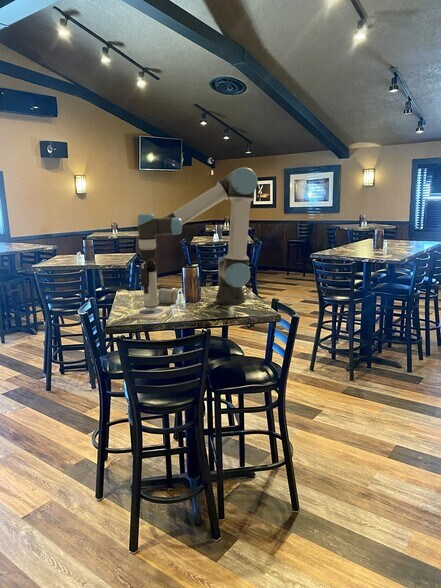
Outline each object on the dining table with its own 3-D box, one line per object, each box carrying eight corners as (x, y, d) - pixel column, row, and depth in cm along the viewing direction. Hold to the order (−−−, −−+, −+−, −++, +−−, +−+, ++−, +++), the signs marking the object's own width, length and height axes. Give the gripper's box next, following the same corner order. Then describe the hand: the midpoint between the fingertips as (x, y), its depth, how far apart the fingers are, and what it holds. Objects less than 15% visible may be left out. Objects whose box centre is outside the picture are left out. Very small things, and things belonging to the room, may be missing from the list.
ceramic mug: (173, 305, 217) (172, 290, 216) (157, 304, 219) (157, 289, 218) (180, 301, 227) (180, 286, 226) (166, 300, 230) (165, 286, 228)
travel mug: (154, 304, 207) (152, 262, 203) (160, 307, 201) (158, 264, 197) (142, 306, 204) (139, 264, 199) (147, 309, 198) (145, 265, 194)
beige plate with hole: (173, 308, 211) (173, 306, 210) (157, 319, 192) (156, 317, 192) (146, 307, 214) (146, 305, 214) (127, 317, 195) (127, 315, 195)
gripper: (148, 246, 207) (151, 294, 212) (130, 251, 189) (134, 303, 193) (163, 246, 205) (165, 294, 210) (146, 251, 187) (149, 303, 191)
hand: (150, 298), depth 201 cm, fingers closed on travel mug, 6 cm apart
